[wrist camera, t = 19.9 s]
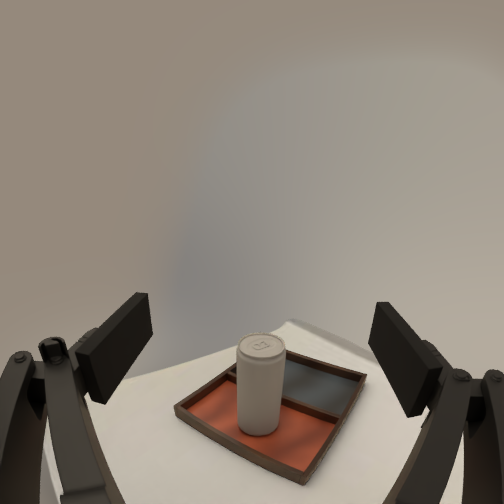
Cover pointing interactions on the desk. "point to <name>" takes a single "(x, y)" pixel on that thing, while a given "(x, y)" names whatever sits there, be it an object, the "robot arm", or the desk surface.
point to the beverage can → (259, 382)
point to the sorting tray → (280, 415)
